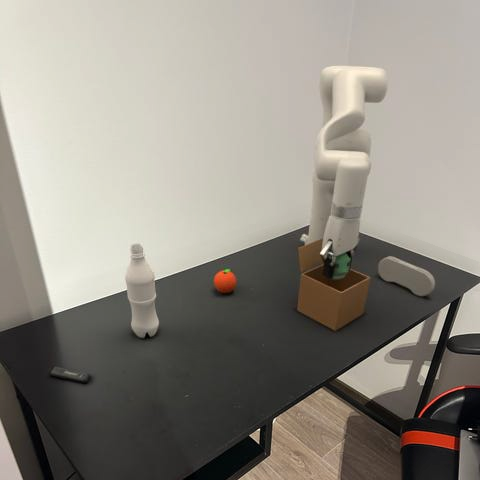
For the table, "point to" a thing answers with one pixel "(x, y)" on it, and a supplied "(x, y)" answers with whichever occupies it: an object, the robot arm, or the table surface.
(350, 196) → the robot arm
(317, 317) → the carton
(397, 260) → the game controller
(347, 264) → the alien toy
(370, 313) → the table surface
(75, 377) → the usb stick
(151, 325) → the water bottle
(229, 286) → the clementine
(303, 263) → the flap
